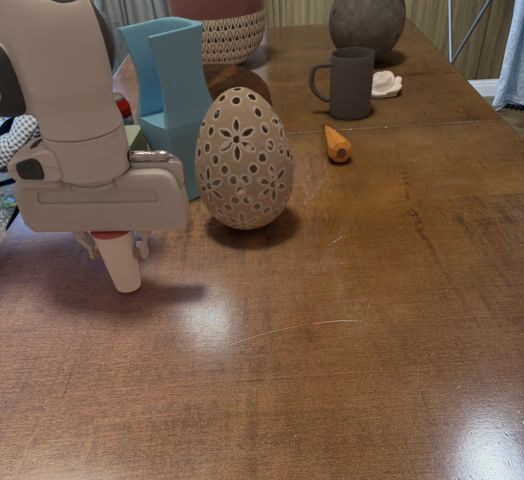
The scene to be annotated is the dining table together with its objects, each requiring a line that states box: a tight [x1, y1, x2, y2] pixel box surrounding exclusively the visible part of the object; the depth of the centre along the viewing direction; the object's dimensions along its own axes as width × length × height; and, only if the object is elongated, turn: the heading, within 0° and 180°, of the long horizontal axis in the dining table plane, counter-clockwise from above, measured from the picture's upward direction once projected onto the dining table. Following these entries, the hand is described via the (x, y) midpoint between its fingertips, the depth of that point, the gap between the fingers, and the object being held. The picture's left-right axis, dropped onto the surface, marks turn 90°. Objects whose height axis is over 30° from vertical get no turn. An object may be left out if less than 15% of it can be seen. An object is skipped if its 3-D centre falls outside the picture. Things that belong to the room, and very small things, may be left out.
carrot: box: [324, 124, 352, 163], centre depth 100 cm, size 20×4×4 cm, turn 4°
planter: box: [167, 0, 267, 66], centre depth 138 cm, size 27×27×27 cm
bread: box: [203, 64, 272, 116], centre depth 117 cm, size 28×27×9 cm
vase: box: [117, 16, 220, 201], centre depth 83 cm, size 10×10×25 cm
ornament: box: [195, 87, 295, 231], centre depth 74 cm, size 15×15×20 cm
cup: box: [89, 231, 142, 294], centre depth 65 cm, size 5×5×12 cm
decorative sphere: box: [328, 0, 407, 62], centre depth 133 cm, size 20×20×20 cm
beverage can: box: [113, 91, 135, 126], centre depth 97 cm, size 7×7×12 cm
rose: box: [371, 70, 403, 99], centre depth 120 cm, size 10×4×10 cm
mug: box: [308, 47, 375, 121], centre depth 109 cm, size 14×9×12 cm
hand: (120, 256), depth 66 cm, fingers closed on cup, 4 cm apart
